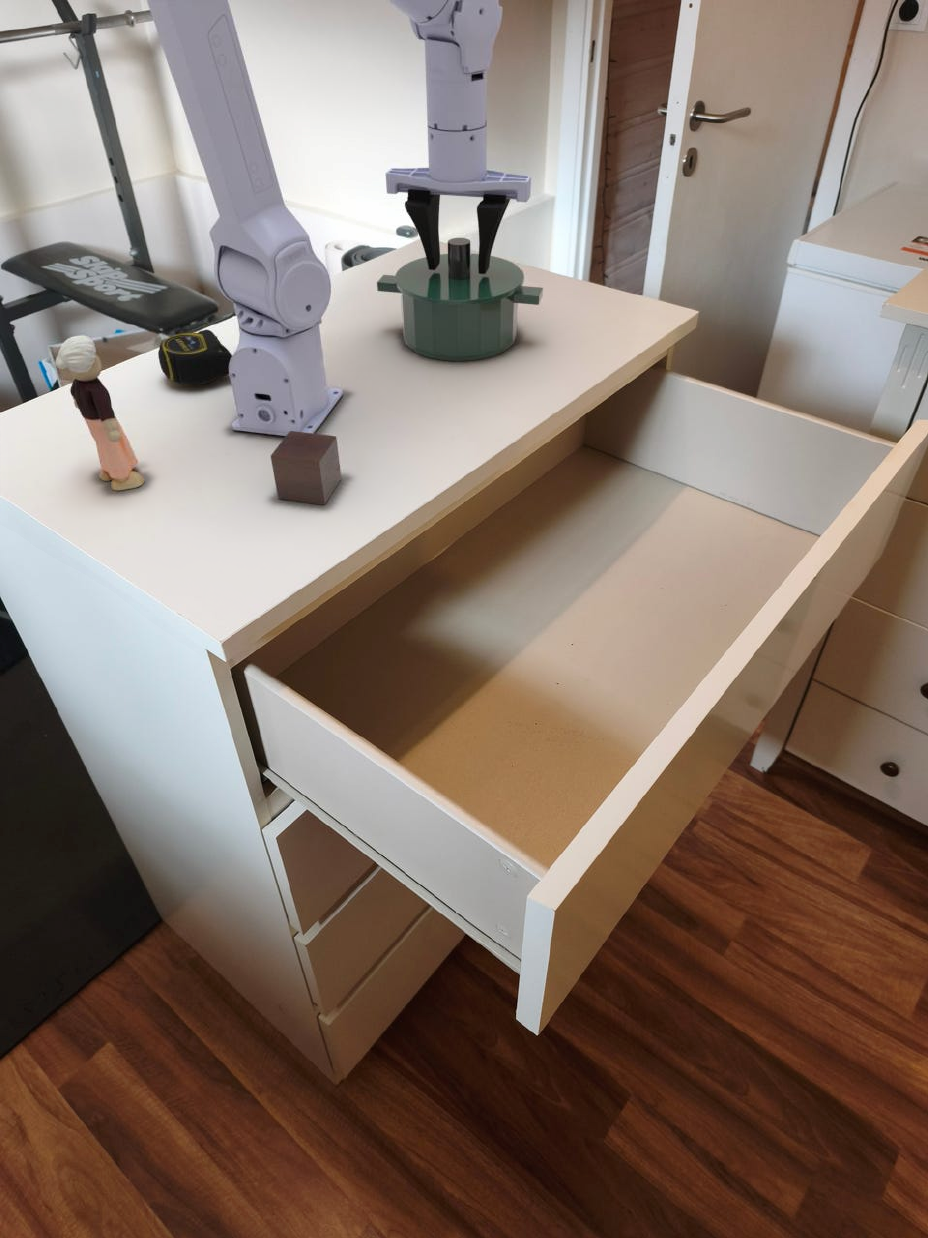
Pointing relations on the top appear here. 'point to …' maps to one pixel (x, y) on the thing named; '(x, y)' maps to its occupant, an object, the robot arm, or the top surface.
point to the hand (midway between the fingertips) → (458, 268)
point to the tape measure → (194, 358)
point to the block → (306, 467)
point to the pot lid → (459, 278)
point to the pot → (460, 324)
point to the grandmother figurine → (99, 413)
